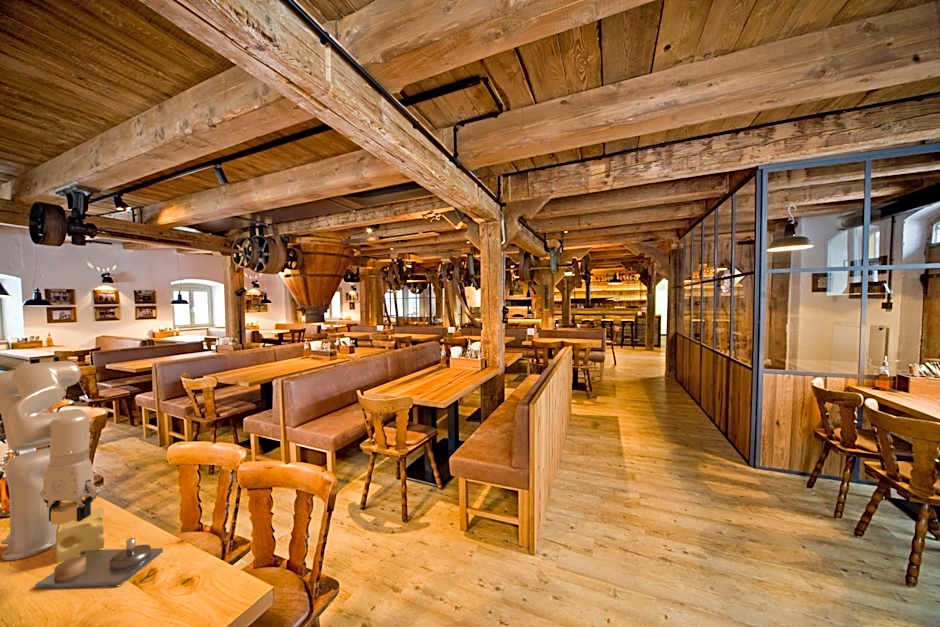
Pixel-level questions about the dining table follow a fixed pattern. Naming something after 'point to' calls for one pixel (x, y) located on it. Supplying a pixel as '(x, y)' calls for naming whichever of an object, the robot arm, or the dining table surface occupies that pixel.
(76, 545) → the cheese
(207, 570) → the dining table surface
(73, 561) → the brown rounded dome
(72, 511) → the collar
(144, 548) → the hub
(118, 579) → the plate
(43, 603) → the dining table surface
